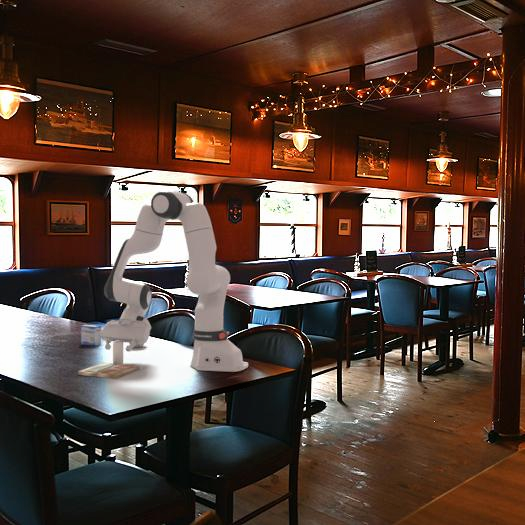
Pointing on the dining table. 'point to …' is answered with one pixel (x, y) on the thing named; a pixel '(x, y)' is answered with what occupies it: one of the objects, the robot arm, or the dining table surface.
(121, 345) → the salt shaker
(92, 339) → the medicine box
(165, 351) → the dining table surface
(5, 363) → the dining table surface
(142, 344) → the die
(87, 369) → the board
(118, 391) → the dining table surface
